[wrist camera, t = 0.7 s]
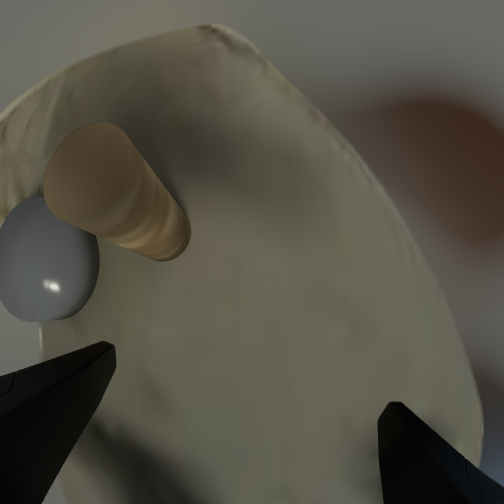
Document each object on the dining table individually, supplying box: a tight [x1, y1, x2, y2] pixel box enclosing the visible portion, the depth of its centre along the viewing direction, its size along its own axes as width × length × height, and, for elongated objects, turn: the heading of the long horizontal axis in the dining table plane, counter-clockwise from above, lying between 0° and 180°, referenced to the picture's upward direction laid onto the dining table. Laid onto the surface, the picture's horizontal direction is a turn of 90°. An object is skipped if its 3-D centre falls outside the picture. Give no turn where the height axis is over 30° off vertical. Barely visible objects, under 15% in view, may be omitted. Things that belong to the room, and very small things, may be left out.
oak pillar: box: [43, 122, 191, 261], centre depth 16 cm, size 4×4×12 cm
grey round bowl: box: [0, 196, 99, 322], centre depth 20 cm, size 10×10×4 cm
